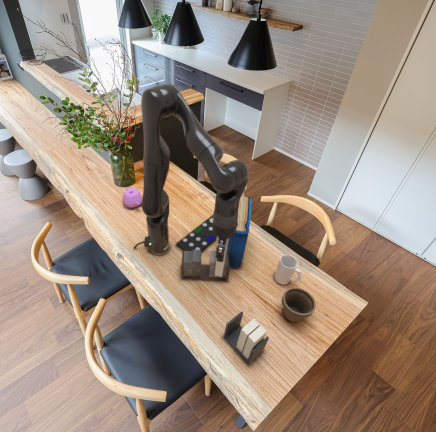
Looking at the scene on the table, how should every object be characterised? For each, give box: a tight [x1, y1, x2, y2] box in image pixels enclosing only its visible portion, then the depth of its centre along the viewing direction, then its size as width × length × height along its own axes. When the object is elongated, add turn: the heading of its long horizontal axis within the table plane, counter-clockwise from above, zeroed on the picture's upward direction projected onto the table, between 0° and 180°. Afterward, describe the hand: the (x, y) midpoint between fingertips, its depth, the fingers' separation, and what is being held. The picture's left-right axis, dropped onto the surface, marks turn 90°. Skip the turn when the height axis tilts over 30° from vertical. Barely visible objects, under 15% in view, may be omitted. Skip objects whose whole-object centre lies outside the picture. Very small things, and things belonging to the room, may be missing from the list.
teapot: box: [122, 186, 143, 209], centre depth 160 cm, size 10×15×9 cm
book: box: [226, 195, 253, 268], centre depth 131 cm, size 22×7×25 cm, turn 168°
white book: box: [215, 243, 227, 277], centre depth 108 cm, size 3×6×14 cm, turn 165°
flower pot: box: [281, 287, 317, 322], centre depth 114 cm, size 12×11×10 cm
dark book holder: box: [223, 310, 270, 366], centre depth 104 cm, size 12×8×15 cm, turn 38°
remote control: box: [175, 214, 217, 253], centre depth 147 cm, size 11×30×2 cm, turn 135°
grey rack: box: [180, 250, 231, 282], centre depth 128 cm, size 19×8×12 cm, turn 86°
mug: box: [274, 254, 302, 285], centre depth 124 cm, size 10×7×12 cm, turn 42°
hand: (221, 253), depth 106 cm, fingers closed on white book, 6 cm apart
